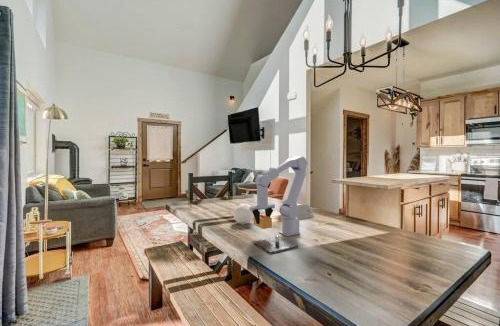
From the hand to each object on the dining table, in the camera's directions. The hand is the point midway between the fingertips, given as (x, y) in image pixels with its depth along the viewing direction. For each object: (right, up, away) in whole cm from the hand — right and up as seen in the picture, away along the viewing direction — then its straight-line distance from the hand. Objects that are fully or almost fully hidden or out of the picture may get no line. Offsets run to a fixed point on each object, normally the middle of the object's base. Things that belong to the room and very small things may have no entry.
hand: (262, 222), depth 134 cm
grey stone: (+30, -7, +44) cm, 54 cm away
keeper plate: (+6, -9, -11) cm, 15 cm away
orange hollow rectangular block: (0, -2, 0) cm, 2 cm away
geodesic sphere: (-11, -8, +30) cm, 32 cm away
